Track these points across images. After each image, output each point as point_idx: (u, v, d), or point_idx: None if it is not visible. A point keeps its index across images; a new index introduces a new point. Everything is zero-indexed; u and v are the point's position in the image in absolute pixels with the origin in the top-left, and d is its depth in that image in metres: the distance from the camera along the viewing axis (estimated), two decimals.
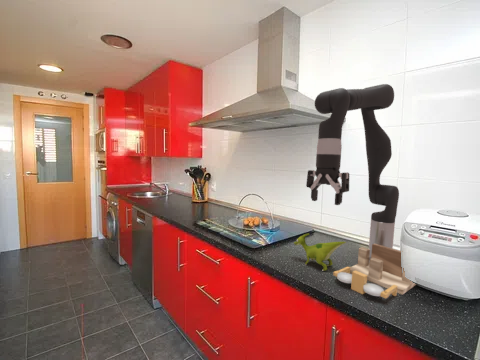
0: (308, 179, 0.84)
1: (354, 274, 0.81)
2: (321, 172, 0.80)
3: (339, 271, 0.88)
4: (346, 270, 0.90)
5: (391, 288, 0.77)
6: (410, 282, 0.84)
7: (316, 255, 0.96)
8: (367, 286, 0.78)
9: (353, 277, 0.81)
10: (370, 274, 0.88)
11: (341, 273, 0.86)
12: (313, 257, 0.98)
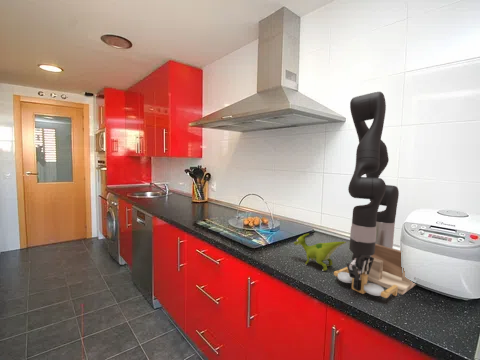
0: (356, 273, 0.77)
1: None
2: (362, 258, 0.78)
3: (339, 271, 0.88)
4: (346, 270, 0.90)
5: (391, 288, 0.77)
6: (410, 282, 0.84)
7: (316, 255, 0.96)
8: (368, 286, 0.78)
9: None
10: (370, 274, 0.88)
11: (341, 273, 0.86)
12: (313, 257, 0.98)
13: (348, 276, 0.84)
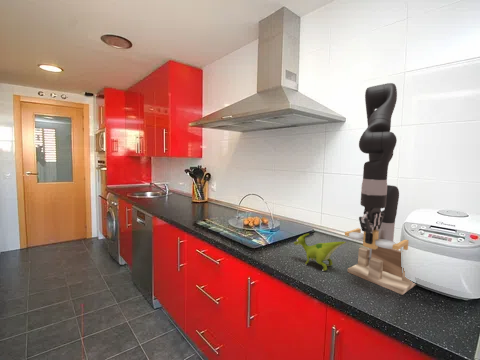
0: (368, 226, 0.79)
1: None
2: (373, 212, 0.80)
3: (350, 231, 0.90)
4: (357, 231, 0.92)
5: (402, 242, 0.79)
6: (410, 282, 0.84)
7: (316, 255, 0.96)
8: (379, 241, 0.80)
9: None
10: (370, 274, 0.88)
11: (352, 233, 0.88)
12: (313, 257, 0.98)
13: (359, 235, 0.86)
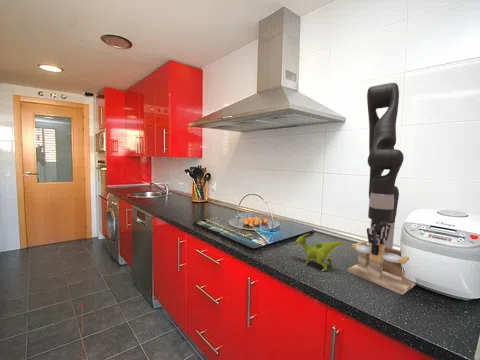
0: (375, 237, 0.83)
1: None
2: (380, 224, 0.84)
3: (357, 244, 0.94)
4: (363, 243, 0.96)
5: None
6: (410, 282, 0.84)
7: (316, 255, 0.96)
8: (386, 255, 0.84)
9: (371, 247, 0.88)
10: (370, 274, 0.88)
11: (359, 245, 0.92)
12: (313, 257, 0.98)
13: (366, 247, 0.90)
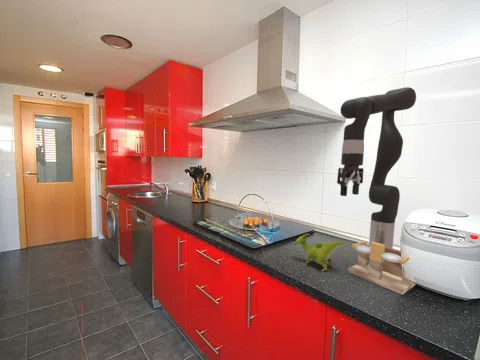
0: (344, 177, 0.88)
1: (372, 244, 0.87)
2: (352, 169, 0.91)
3: (357, 244, 0.94)
4: (363, 243, 0.96)
5: None
6: (410, 282, 0.84)
7: (316, 255, 0.96)
8: (386, 255, 0.84)
9: (371, 247, 0.88)
10: (370, 274, 0.88)
11: (359, 245, 0.92)
12: (313, 257, 0.98)
13: (366, 247, 0.90)
